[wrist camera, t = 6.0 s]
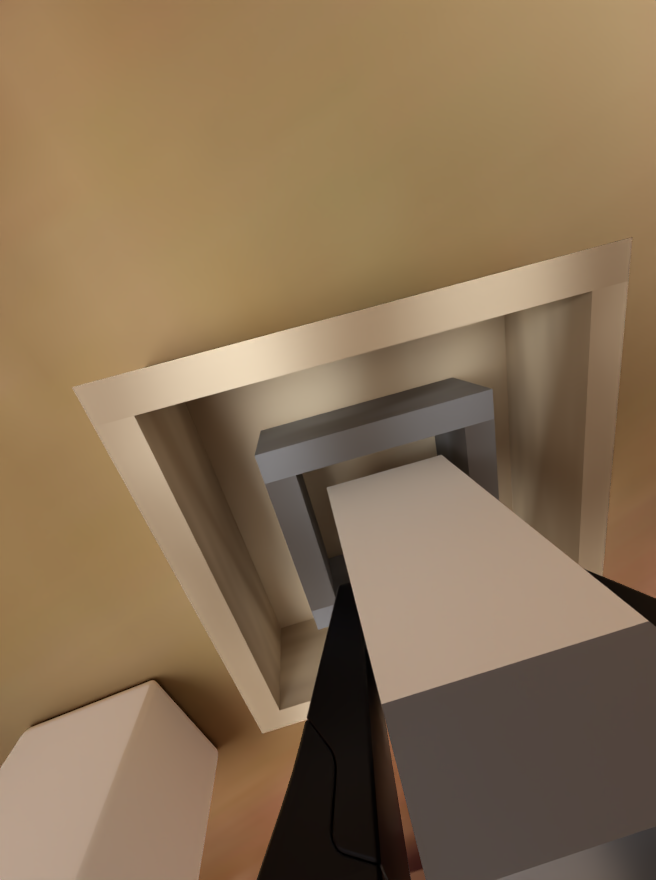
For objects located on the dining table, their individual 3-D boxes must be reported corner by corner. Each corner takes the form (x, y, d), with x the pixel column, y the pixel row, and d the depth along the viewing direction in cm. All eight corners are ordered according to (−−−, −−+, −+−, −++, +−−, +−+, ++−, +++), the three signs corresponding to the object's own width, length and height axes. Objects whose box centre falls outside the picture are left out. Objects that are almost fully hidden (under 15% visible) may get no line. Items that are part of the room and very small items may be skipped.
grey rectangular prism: (441, 454, 10) (831, 768, 3) (453, 548, 12) (739, 921, 4) (326, 487, 10) (431, 900, 3) (352, 578, 12) (468, 1016, 4)
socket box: (521, 266, 11) (632, 237, 8) (528, 561, 16) (597, 629, 13) (143, 368, 11) (71, 387, 7) (267, 640, 16) (262, 733, 12)
